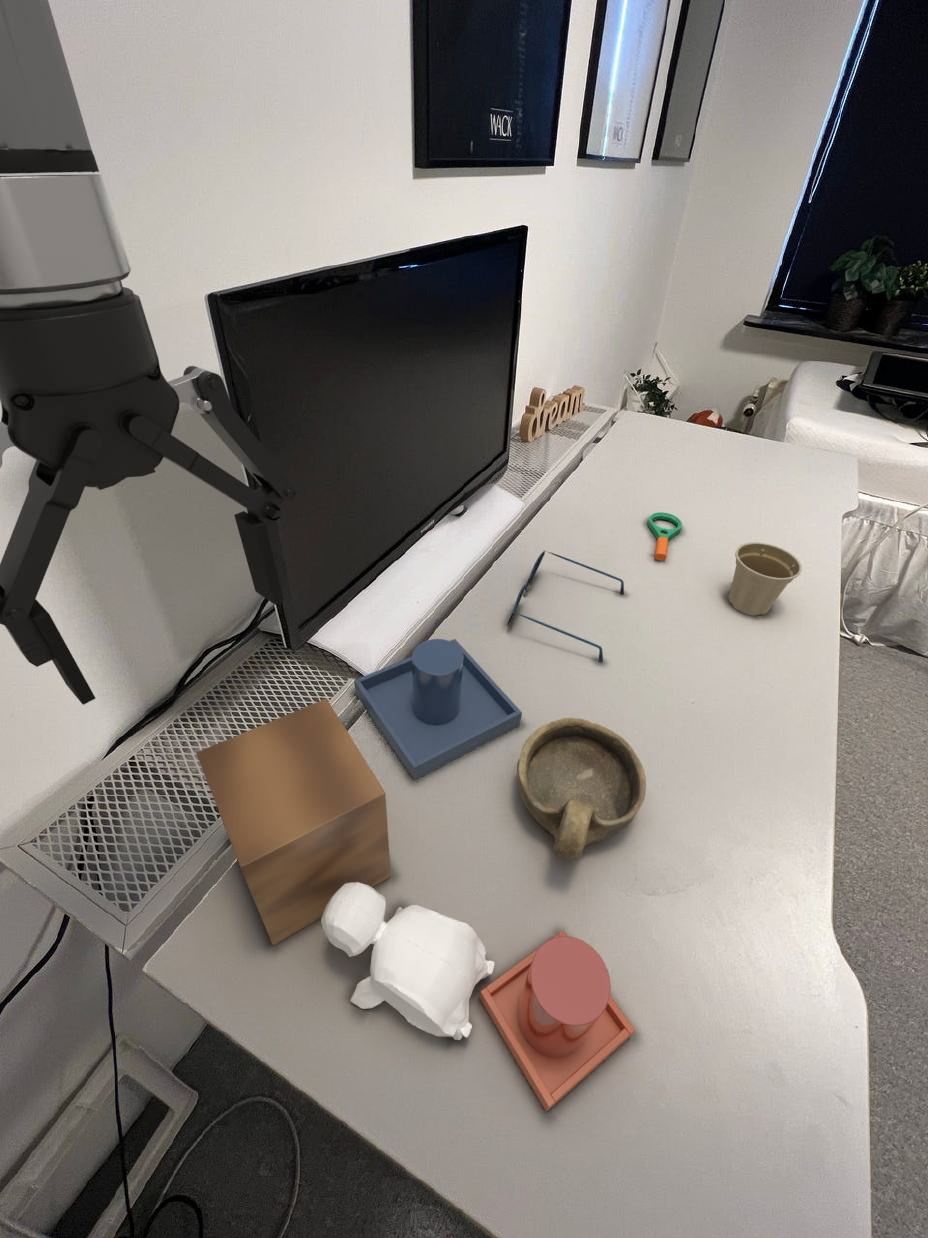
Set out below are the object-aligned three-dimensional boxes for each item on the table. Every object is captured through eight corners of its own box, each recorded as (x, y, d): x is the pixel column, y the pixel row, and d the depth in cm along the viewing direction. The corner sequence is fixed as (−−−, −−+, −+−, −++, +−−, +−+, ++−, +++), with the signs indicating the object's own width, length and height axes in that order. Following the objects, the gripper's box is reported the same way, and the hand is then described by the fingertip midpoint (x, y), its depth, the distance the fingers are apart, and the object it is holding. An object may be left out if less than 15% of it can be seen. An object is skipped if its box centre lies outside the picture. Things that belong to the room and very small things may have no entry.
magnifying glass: (649, 514, 114) (651, 507, 113) (681, 521, 113) (683, 513, 112) (641, 557, 103) (643, 549, 102) (676, 565, 102) (679, 557, 101)
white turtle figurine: (474, 960, 56) (343, 871, 56) (514, 943, 50) (367, 843, 50) (434, 1060, 50) (288, 960, 50) (474, 1054, 44) (308, 941, 44)
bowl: (641, 768, 70) (664, 713, 64) (621, 911, 58) (647, 862, 51) (528, 733, 73) (539, 678, 66) (486, 863, 60) (494, 811, 54)
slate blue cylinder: (428, 732, 72) (428, 682, 66) (403, 700, 75) (402, 649, 69) (469, 713, 74) (473, 662, 68) (443, 682, 78) (446, 632, 72)
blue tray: (413, 780, 67) (413, 767, 66) (355, 693, 76) (353, 680, 75) (520, 725, 74) (522, 712, 72) (454, 651, 83) (454, 638, 82)
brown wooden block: (273, 946, 54) (240, 868, 44) (231, 840, 61) (195, 752, 51) (391, 876, 59) (385, 792, 49) (340, 786, 66) (326, 697, 56)
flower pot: (722, 618, 92) (743, 574, 86) (712, 582, 99) (730, 538, 93) (785, 627, 91) (810, 582, 85) (770, 589, 98) (792, 546, 92)
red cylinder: (547, 1076, 47) (566, 1045, 41) (502, 1003, 51) (514, 965, 45) (602, 1027, 50) (627, 992, 44) (556, 961, 53) (573, 920, 47)
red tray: (546, 1112, 46) (549, 1107, 45) (478, 997, 51) (480, 991, 50) (630, 1035, 50) (635, 1030, 49) (559, 937, 55) (562, 930, 54)
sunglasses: (535, 569, 99) (543, 545, 95) (619, 602, 96) (631, 579, 93) (502, 633, 86) (510, 608, 83) (597, 672, 84) (609, 649, 81)
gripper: (241, 257, 37) (302, 549, 50) (-340, 324, 23) (-43, 712, 36) (314, 267, 33) (359, 582, 46) (-338, 357, 19) (-4, 780, 32)
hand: (184, 639), depth 41 cm, fingers open, 13 cm apart
